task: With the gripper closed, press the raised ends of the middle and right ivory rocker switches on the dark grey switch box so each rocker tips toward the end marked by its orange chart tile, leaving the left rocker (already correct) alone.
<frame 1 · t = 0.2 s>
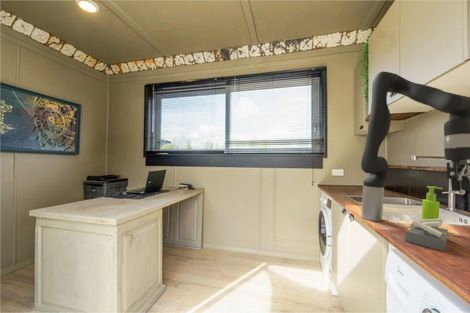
hand: (461, 190, 77), 22 cm above the worktop, tool pointing down, fingers open, 8 cm apart
switch box: (426, 239, 84), on the worktop
rocker A: (428, 221, 88), point 6 cm above the worktop, hinge at 20.0°
rocker B: (427, 224, 84), point 6 cm above the worktop, hinge at 20.0°
soap dispenser: (430, 228, 98), on the worktop
rocker C: (426, 227, 79), point 6 cm above the worktop, hinge at -20.0°
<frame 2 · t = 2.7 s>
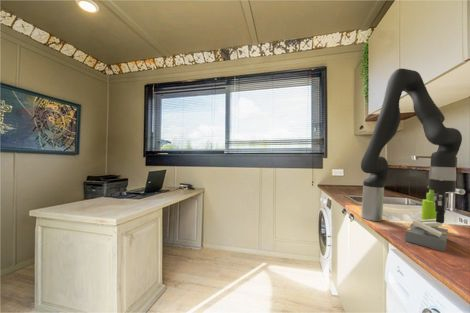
hand: (439, 222, 81), 8 cm above the worktop, tool pointing down, fingers closed
rocker B: (427, 224, 84), point 6 cm above the worktop, hinge at 18.5°, touching gripper
everything else where it was.
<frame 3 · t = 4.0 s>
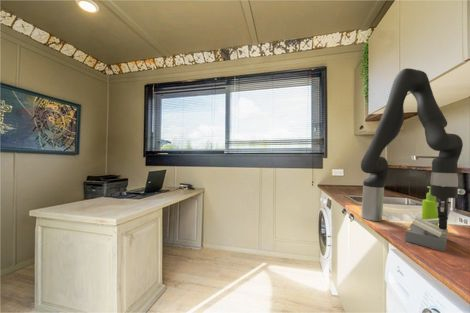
hand: (442, 228, 80), 6 cm above the worktop, tool pointing down, fingers closed
rocker B: (428, 224, 83), point 6 cm above the worktop, hinge at -18.7°, touching gripper
everything else where it was.
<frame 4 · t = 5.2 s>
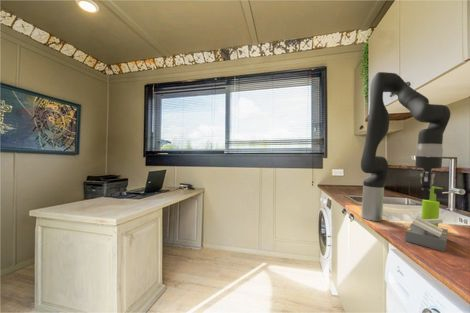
hand: (425, 199, 81), 17 cm above the worktop, tool pointing down, fingers closed
rocker B: (428, 224, 83), point 6 cm above the worktop, hinge at -23.2°
everything else where it was.
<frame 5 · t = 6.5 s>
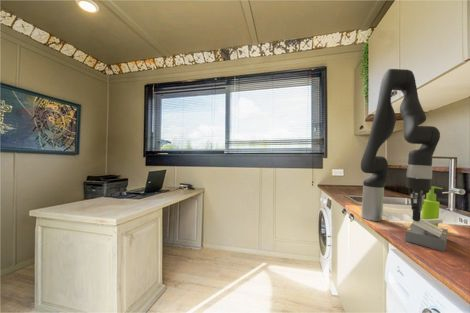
hand: (416, 220, 82), 8 cm above the worktop, tool pointing down, fingers closed
rocker B: (428, 224, 83), point 6 cm above the worktop, hinge at -23.8°
rocker C: (426, 227, 79), point 6 cm above the worktop, hinge at -20.0°, touching gripper
everything else where it was.
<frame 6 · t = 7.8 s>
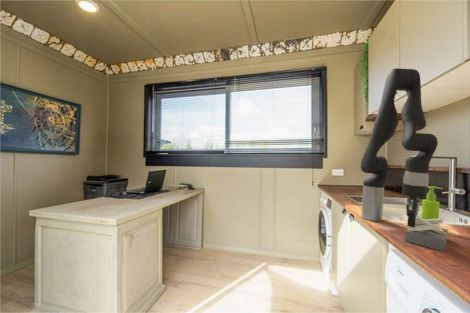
hand: (411, 226, 83), 6 cm above the worktop, tool pointing down, fingers closed
rocker C: (425, 227, 80), point 6 cm above the worktop, hinge at 23.7°, touching gripper
everything else where it was.
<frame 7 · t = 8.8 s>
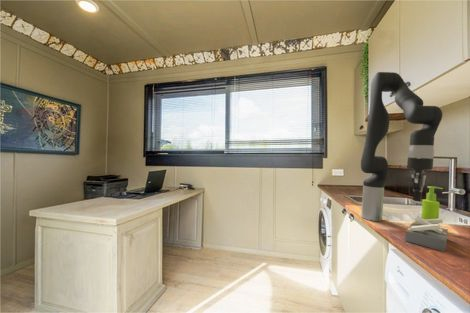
hand: (416, 200, 82), 16 cm above the worktop, tool pointing down, fingers closed
rocker C: (425, 227, 80), point 6 cm above the worktop, hinge at 23.3°
everything else where it was.
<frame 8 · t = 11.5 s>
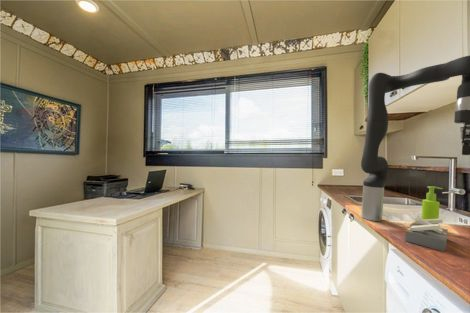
hand: (466, 155, 80), 35 cm above the worktop, tool pointing down, fingers closed
rocker C: (425, 227, 80), point 6 cm above the worktop, hinge at 22.3°
everything else where it was.
at the end: rocker B at -24° (first picture: +20°); rocker C at +22° (first picture: -20°); rocker A at +20° (first picture: +20°) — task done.
